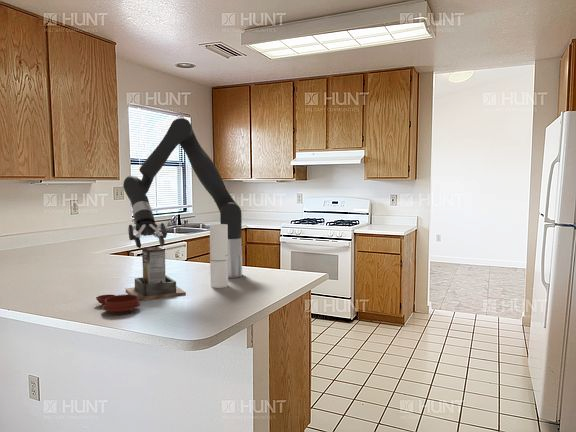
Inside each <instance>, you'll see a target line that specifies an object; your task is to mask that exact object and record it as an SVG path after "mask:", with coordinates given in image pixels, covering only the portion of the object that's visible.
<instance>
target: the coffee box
mask: <svg viewBox="0 0 576 432" xmlns="http://www.w3.org/2000/svg"><path fill="white" fill-rule="evenodd" d="M141 253H142V255H141V257H142V259H141V260H142V262H141V263H142V277H143V283H144V284H145V285H149V284H157V283H165V275H166V249H164V248H163V247H161V246H148V247H147V246H146V247H141Z"/></svg>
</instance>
